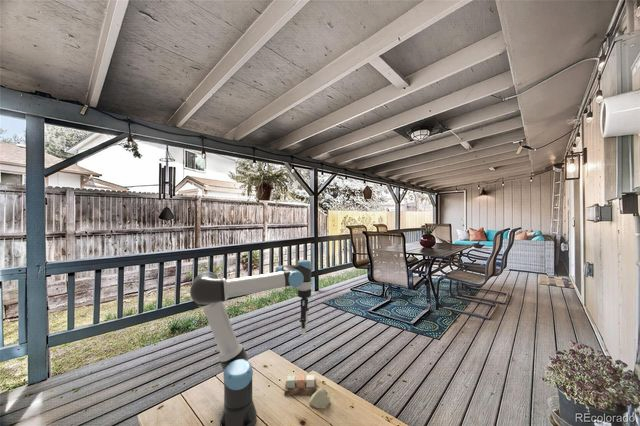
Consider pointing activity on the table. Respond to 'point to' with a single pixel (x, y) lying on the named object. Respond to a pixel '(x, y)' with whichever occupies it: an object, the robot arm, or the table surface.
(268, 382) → the table surface
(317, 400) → the grey rounded lump
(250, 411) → the robot arm
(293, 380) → the button sage
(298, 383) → the button terracotta
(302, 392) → the walnut board
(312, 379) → the button cream
